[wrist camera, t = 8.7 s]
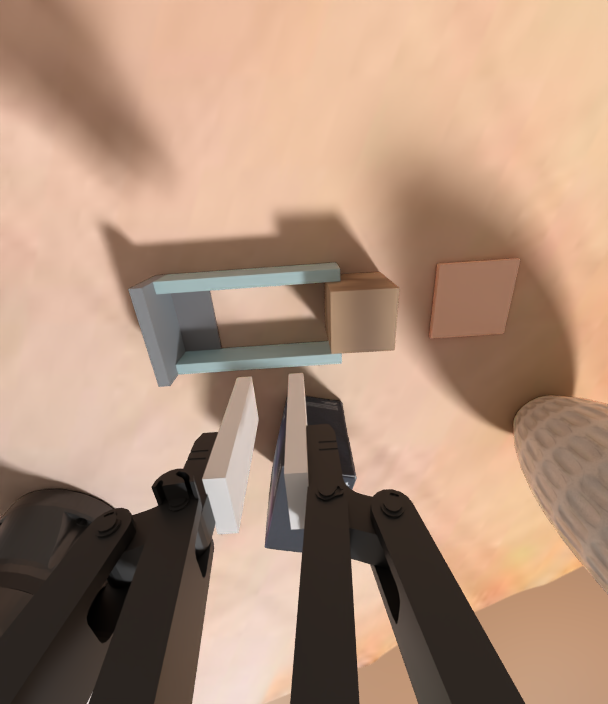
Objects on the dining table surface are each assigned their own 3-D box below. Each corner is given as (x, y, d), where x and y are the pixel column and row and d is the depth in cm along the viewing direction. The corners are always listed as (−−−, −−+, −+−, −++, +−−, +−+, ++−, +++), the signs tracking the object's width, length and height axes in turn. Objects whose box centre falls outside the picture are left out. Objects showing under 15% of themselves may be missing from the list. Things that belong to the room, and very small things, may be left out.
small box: (284, 390, 33) (278, 465, 24) (343, 399, 34) (361, 475, 24) (270, 464, 38) (261, 551, 28) (323, 470, 38) (331, 558, 29)
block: (325, 327, 30) (331, 353, 25) (323, 274, 28) (330, 291, 23) (376, 323, 30) (394, 350, 25) (379, 271, 28) (399, 287, 23)
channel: (178, 360, 31) (158, 386, 27) (155, 275, 28) (128, 289, 23) (337, 349, 31) (344, 374, 27) (335, 262, 27) (343, 273, 23)
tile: (428, 336, 31) (431, 338, 30) (437, 263, 28) (440, 264, 27) (500, 331, 31) (503, 333, 30) (516, 258, 28) (520, 259, 27)
